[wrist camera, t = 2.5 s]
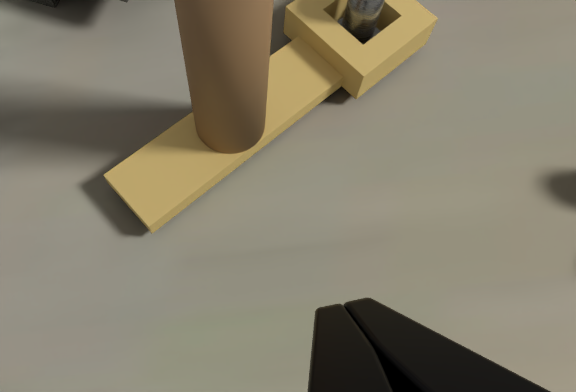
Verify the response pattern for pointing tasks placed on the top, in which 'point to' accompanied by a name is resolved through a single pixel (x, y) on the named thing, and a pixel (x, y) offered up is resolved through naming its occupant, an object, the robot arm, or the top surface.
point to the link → (256, 89)
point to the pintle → (362, 18)
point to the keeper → (54, 2)
